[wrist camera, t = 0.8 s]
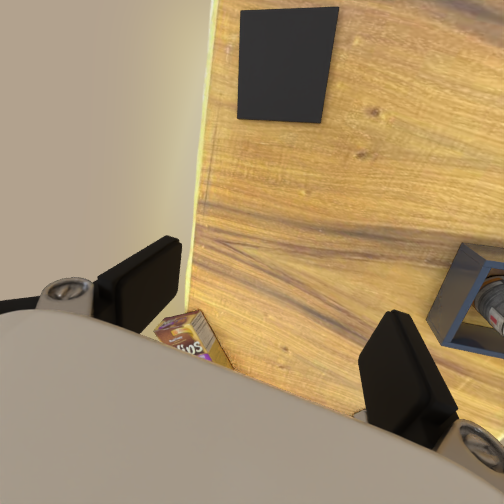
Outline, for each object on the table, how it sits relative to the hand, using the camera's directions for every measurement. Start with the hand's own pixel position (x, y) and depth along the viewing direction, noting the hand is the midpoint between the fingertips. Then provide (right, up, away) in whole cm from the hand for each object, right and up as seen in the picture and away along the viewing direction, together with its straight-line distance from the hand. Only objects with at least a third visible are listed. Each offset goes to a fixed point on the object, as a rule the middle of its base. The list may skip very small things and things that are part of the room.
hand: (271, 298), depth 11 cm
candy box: (-9, -24, +38) cm, 46 cm away
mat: (+3, +22, +16) cm, 28 cm away
